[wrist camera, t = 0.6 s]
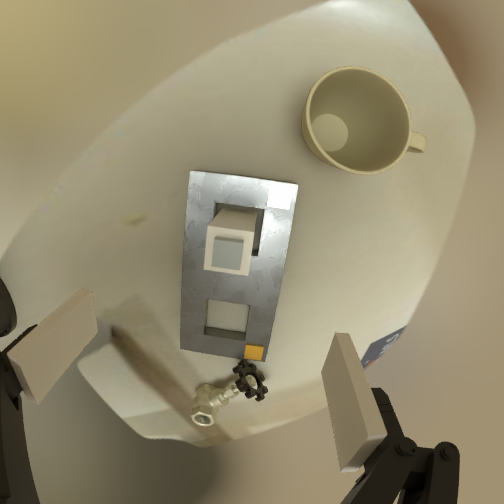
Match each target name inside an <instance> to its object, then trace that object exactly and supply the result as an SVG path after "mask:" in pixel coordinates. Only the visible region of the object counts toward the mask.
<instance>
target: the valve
mask: <svg viewBox="0 0 504 504" xmlns="http://www.w3.org/2000/svg"><path fill="white" fill-rule="evenodd" d="M241 366H242V367H241ZM256 369H257V368H256V366H255V365H254V364H251V365H250V366H248V364H247V362H246V361H245V360H242V361H240V362H239V363H238V365H237V366H236V367H234V368H233V372H234V373H235V374H236V373H239V377H240V378H238V379H237V380H236V381H235V383H236V386H235V385H229V386H228V387H226V388H225V390H223V389H221V388H217V387H216V386H213V385H209V384H204V385H202V386H201V387H199V388H198V390H197V396H196V397H195V398H194V401H193V409H192V412H191V418H192V420H193V422H194V423H196V424H198V425H201V426H210V425H212V424H214V423H215V420H216V413H217V412H218V410H219V407H223V406H225V405H227V404H228V403H229V398H233V397H235V396H237V395H238V394H239V391H240V392H245V391H246V393H245V396H246V397H247V398H248V399H250V398H252V397H254V396H255V395H257V398H255V399H256V401H258V402H259V401H261V400H263V399H264V398H265V397H264V394H265V393H267V392H268V389H267V387H266V386H263V384H262V382H263V381H264V380H265V378H264V376H263V375H258V374H257V373H256ZM245 371H247V372H246V373H245ZM256 382H257V386H258V388H257V390H256V389H254V388H252V387H253V386H255V385H256Z"/></svg>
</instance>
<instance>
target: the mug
mask: <svg viewBox="0 0 504 504" xmlns="http://www.w3.org/2000/svg"><path fill="white" fill-rule="evenodd" d="M301 126H302V133H303V137H304V139H305V142H306V144H307V145H308V147H309V148H310V150H311V151H312V152H313V153H314V154H315V155H316V156H317V157H318V158H319V159H321V160H322V161H324V162H325V163H327V164H329V165H331V166H334V167H336V168H339V169H342V170H344V171H347V172H350V173H354V174H359V175H373V174H378V173H382V172H384V171H387V170H389V169H390V168H392V167H393V166H395V165H396V164H397V163H398V162H399V161H400V160H401V159H402V157H403V156H404V154H405V153H406V151H407V152H415V153H423V152H425V150H426V146H427V139H426V137H425V136H424V135H422V134H420V133H417V132H414V131H412V122H411V116H410V112H409V109H408V106H407V104H406V101H405V100H404V98H403V96H402V94H401V93H400V92H399V90H398V89H397V88H396V87H395V86H394V85H393V84H392V83H391V82H390V81H389V80H388V79H387V78H385V77H384V76H382V75H381V74H379V73H377V72H375V71H373V70H370V69H367V68H363V67H357V66H345V67H340V68H336V69H334V70H331V71H329V72H328V73H326V74H324V75H323V76H322V77H321V78H320V79H319V80H318V81H317V82H316V83H315V84H314V86H313V87H312V89H311V91H310V93H309V96H308V98H307V101H306V104H305V107H304V110H303V114H302V120H301Z"/></svg>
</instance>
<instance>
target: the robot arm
mask: <svg viewBox="0 0 504 504" xmlns="http://www.w3.org/2000/svg"><path fill="white" fill-rule="evenodd" d="M15 327H16V313H15V309H14V306H13V303H12V300H11V297H10V295H9V293H8V291H7V289H6V287H5V286H4V284H3V282H2V281H1V279H0V337H3V336H6V335H8V334H9V333H10V332H12V331H13V330H14V329H15ZM97 333H98V328H97V322H96V315H95V308H94V300H93V291H89V290H85V289H81V290H80V291H78V292H77V293H76V294H75V295H73V296H72V297H71V298H70V299H68V300H67V301H66V302H65V303H64V304H62V305H61V306H60V307H59V308H58V309H56V310H55V311H54V312H53V313H52V314H50V315H49V316H48V317H47V318H46V319H44V320H43V321H42V322H41V323H40V324H39V325H37V324H36V325H34V326H31V327H29V328H28V329H27V330H25V331H24V332H23V333H22V335H20V336H19V337H18V338H17V339H15V340H14V341H13V342H12V343H11V344H10V345H8V346H7V347H6V348H5V349H4V350H3V351H2V352H0V504H40V502H39V499H38V496H37V492H36V488H35V484H34V480H33V476H32V472H31V467H30V462H29V457H28V452H27V445H26V439H25V432H24V424H23V414H22V400H21V396H20V392H21V391H22V390H23V391H24V394H25V396H26V397H27V399H29V400H30V401H32V402H34V403H36V404H37V405H39V403H40V402H41V400H42V399H43V398H44V397H45V395H46V394H47V393H48V392H49V390H50V389H51V388H52V386H53V385H54V384H55V383H56V381H57V380H58V379H59V378H60V377H61V375H62V374H63V373H64V372H65V370H66V369H67V368H68V367H69V366H70V364H71V363H72V362H73V361H74V360H75V358H76V357H77V356H78V355H79V354H80V353H81V351H82V350H83V349H84V348H85V347H86V345H87V344H88V343H89V342H90V341H91V340H92V339H93V337H94V336H95V335H96V334H97ZM321 374H322V378H323V383H324V388H325V392H326V397H327V402H328V407H329V412H330V417H331V423H332V427H333V433H334V438H335V444H336V449H337V455H338V461H339V466H340V472H348V471H349V472H350V471H358V470H359V468H360V467H361V466H362V465H363V464H364V468H365V472H364V473H363V474H362V475H361V476H360V477H359V478H358V479H357V480H356V484H355V485H354V487H353V488H352V489H351V491H350V492H349V493H348V495H347V496H346V497H345V498H344V500H343V501H342V502H341V504H393V502H394V500H395V499H396V497H397V495H398V494H399V492H400V490H401V492H400V495H399V499H398V503H397V504H457V498H458V486H459V466H460V454H459V450H458V449H457V447H456V446H455V445H454V444H453V443H450V442H441V443H439V444H438V445H437V446H436V447H435V448H434V449H432V448H423V447H417V445H416V443H415V442H414V441H413V440H411V439H410V438H407V437H405V436H404V435H403V432H402V429H401V427H400V424H399V422H398V419H397V417H396V414H395V412H394V409H393V407H392V405H391V403H390V400H389V397H388V395H387V394H386V393H385V392H384V391H383V390H382V389H381V388H371V387H370V385H369V382H368V380H367V377H366V375H365V372H364V369H363V367H362V364H361V362H360V359H359V357H358V354H357V352H356V350H355V347H354V345H353V342H352V340H351V337H350V335H349V334H348V333H336V332H335V335H334V338H333V341H332V344H331V346H330V349H329V352H328V355H327V358H326V361H325V363H324V366H323V369H322V371H321Z"/></svg>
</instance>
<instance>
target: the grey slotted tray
mask: <svg viewBox="0 0 504 504" xmlns="http://www.w3.org/2000/svg"><path fill="white" fill-rule="evenodd" d="M297 190H298V185H297V184H295V183H288V182H282V181H276V180H269V179H262V178H255V177H248V176H240V175H232V174H224V173H215V172H205V171H195V170H194V171H190V178H189V187H188V198H187V209H186V221H185V234H184V249H183V266H182V289H181V331H180V349H184V350H190V351H195V352H201V353H206V354H212V355H218V356H225V357H231V358H238V359H246V360H254V361H262V362H265V359H266V355H267V350H268V345H269V341H270V336H271V331H272V326H273V321H274V316H275V311H276V306H277V301H278V296H279V291H280V286H281V281H282V275H283V270H284V265H285V259H286V254H287V248H288V243H289V237H290V231H291V226H292V220H293V214H294V208H295V202H296V196H297ZM217 203H225V204H232V205H240V206H247V207H254V208H261V209H265V210H264V216H263V223H262V230H261V237H260V243H259V250H258V251H252V253H251V260H250V267H249V274H248V276H245V275H238V274H231V273H224V272H217V271H211V270H204V260H205V248H206V237H207V227H208V225H209V224H210V222H211V221H212V220H213V219H214V218H215V217H216V211H217ZM208 299H212V300H219V301H225V302H232V303H239V304H246V305H250V309H249V316H248V322H247V329H246V333H243V332H236V331H229V330H222V329H216V328H210V327H206V322H207V308H208Z"/></svg>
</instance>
